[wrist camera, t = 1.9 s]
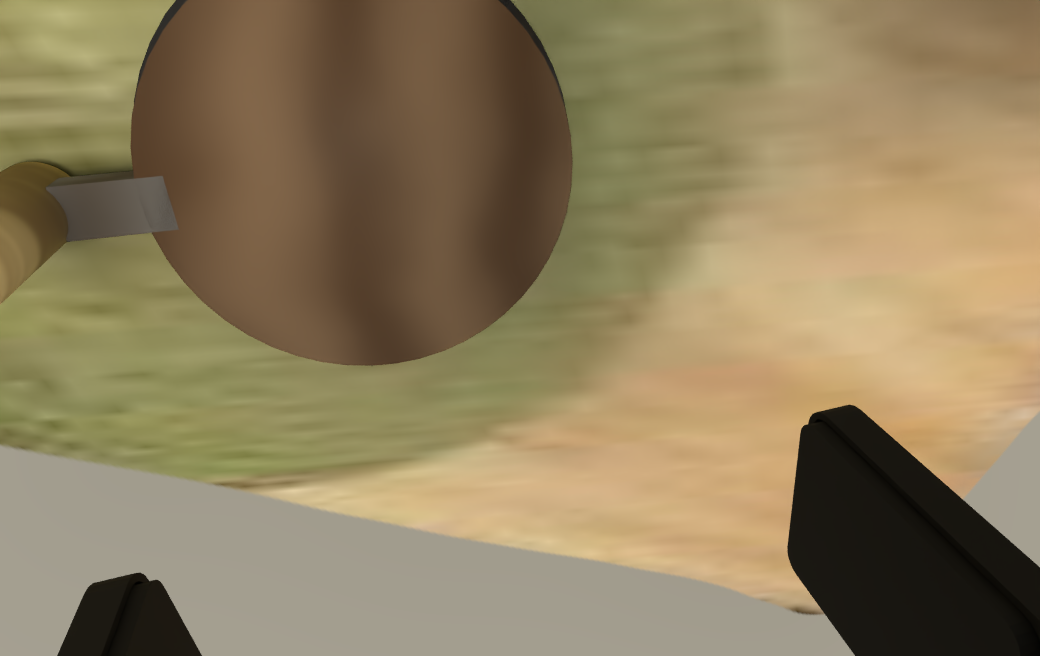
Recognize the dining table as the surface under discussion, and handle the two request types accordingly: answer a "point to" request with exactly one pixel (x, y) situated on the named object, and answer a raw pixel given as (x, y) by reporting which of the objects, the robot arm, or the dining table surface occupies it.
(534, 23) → the dining table surface
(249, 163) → the turntable
